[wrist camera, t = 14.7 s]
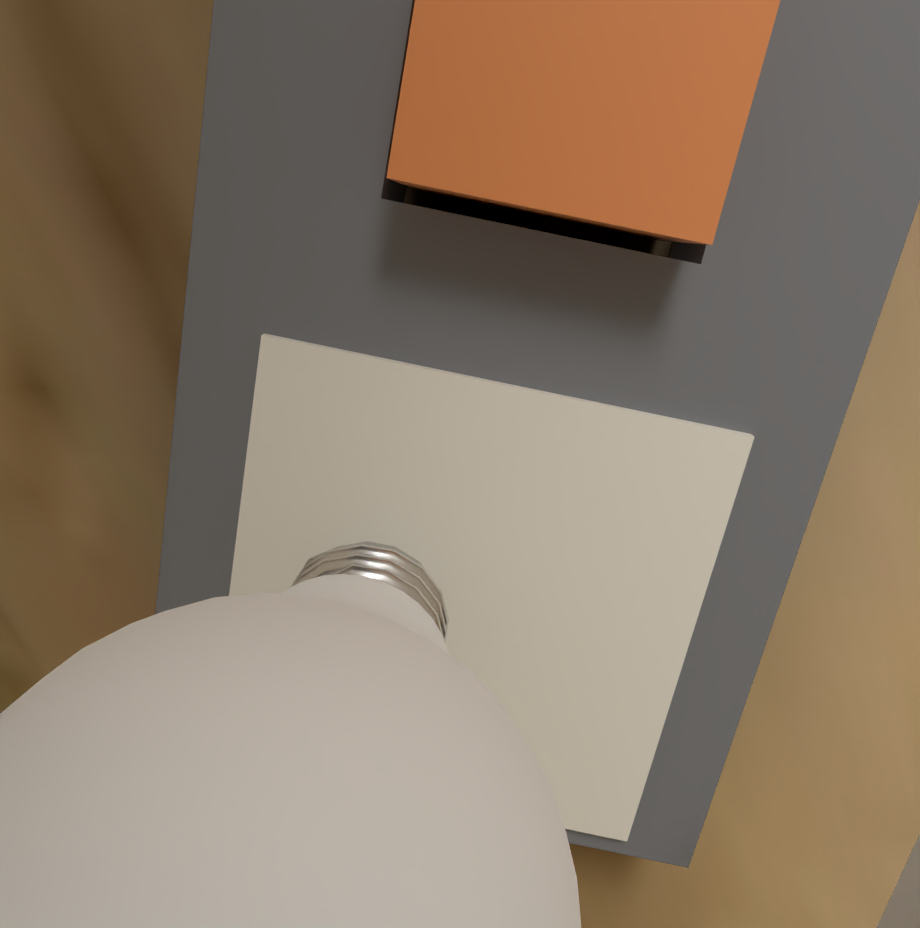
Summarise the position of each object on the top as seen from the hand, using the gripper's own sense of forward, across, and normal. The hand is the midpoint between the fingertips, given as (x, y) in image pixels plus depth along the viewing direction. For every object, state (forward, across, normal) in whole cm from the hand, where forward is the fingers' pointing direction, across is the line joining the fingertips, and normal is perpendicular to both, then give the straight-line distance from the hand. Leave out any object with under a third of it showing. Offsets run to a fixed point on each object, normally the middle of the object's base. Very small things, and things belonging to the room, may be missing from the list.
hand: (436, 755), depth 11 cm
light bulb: (+5, -2, 0) cm, 5 cm away
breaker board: (+8, 0, +4) cm, 9 cm away
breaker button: (+8, 0, +10) cm, 12 cm away
